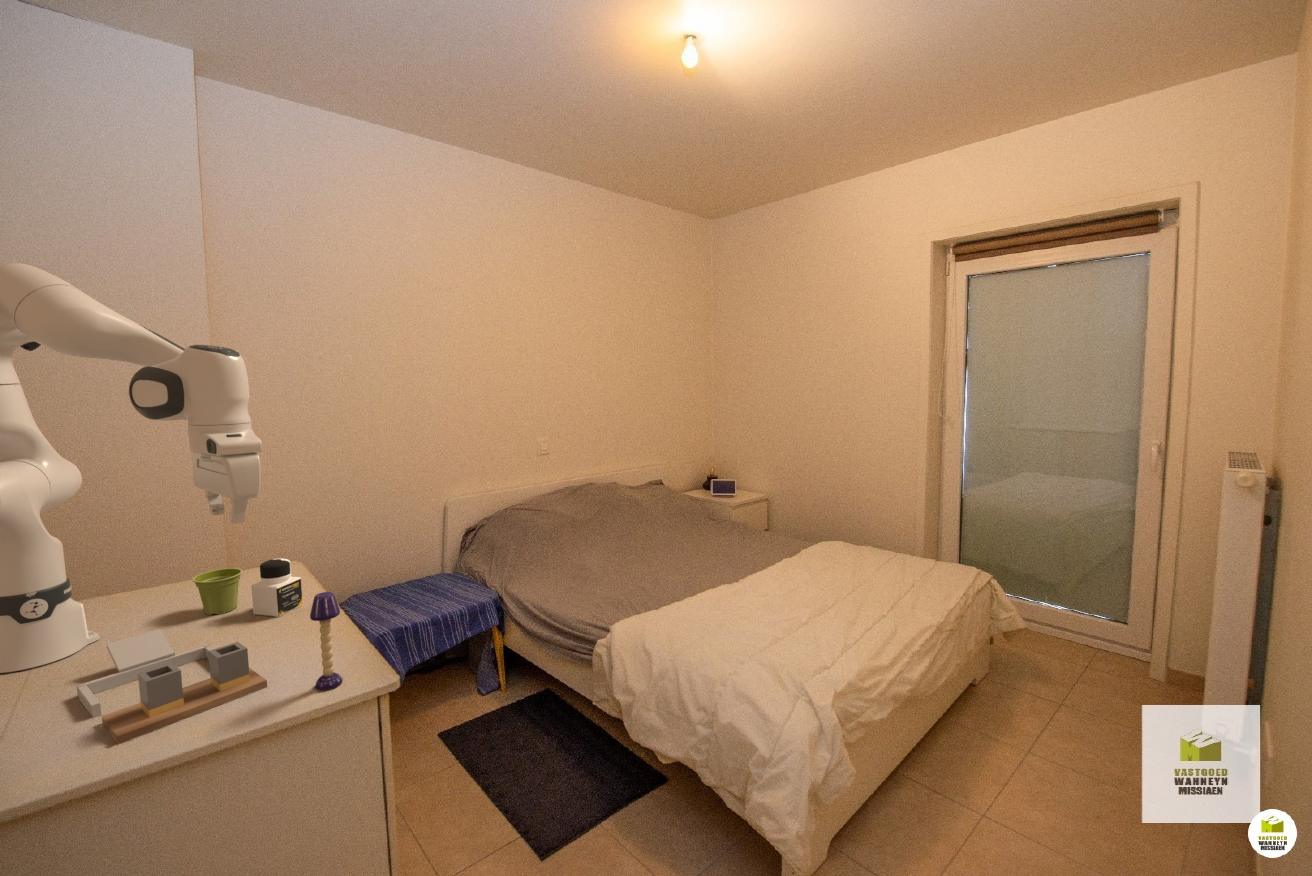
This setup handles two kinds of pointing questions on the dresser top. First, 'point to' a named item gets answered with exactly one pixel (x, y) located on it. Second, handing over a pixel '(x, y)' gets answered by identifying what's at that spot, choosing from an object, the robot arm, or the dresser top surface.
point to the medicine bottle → (276, 589)
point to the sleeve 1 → (160, 689)
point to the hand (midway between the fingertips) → (227, 518)
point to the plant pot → (218, 589)
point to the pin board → (195, 701)
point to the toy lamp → (326, 637)
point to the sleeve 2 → (229, 666)
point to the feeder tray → (136, 663)
